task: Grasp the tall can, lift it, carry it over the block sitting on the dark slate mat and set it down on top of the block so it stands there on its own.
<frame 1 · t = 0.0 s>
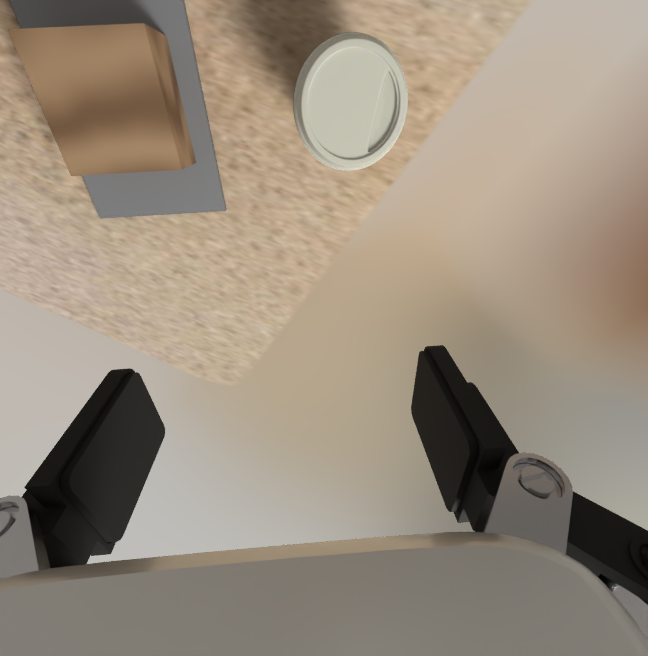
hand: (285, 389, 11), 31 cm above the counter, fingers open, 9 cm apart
block: (130, 107, 31), point 1 cm above the counter, touching mat
mat: (132, 107, 32), on the counter
coffee cup: (337, 109, 33), on the counter
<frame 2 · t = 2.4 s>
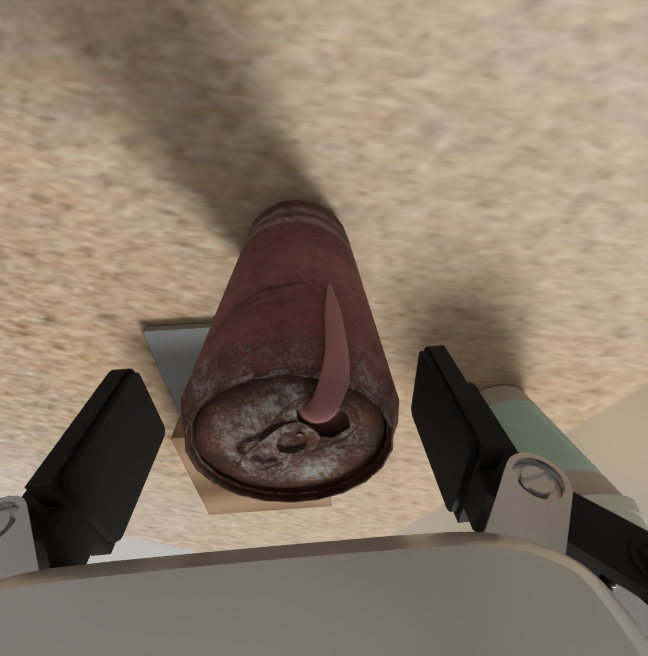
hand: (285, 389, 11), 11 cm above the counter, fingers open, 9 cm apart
block: (267, 421, 28), point 1 cm above the counter, touching mat
can: (299, 246, 20), on the counter
mat: (268, 415, 28), on the counter
coffee cup: (491, 406, 29), on the counter
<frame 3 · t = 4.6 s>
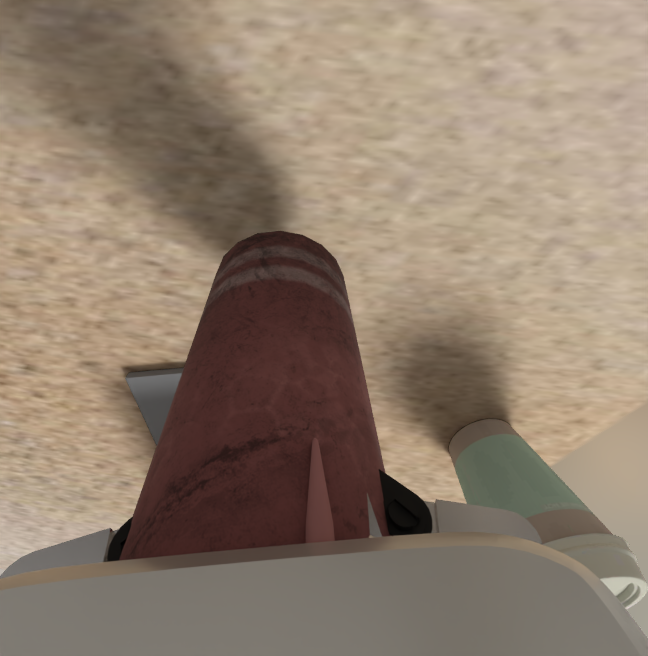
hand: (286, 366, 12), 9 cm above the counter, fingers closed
can: (282, 280, 16), point 3 cm above the counter, touching gripper
mat: (254, 457, 28), on the counter
coffee cup: (479, 439, 29), on the counter
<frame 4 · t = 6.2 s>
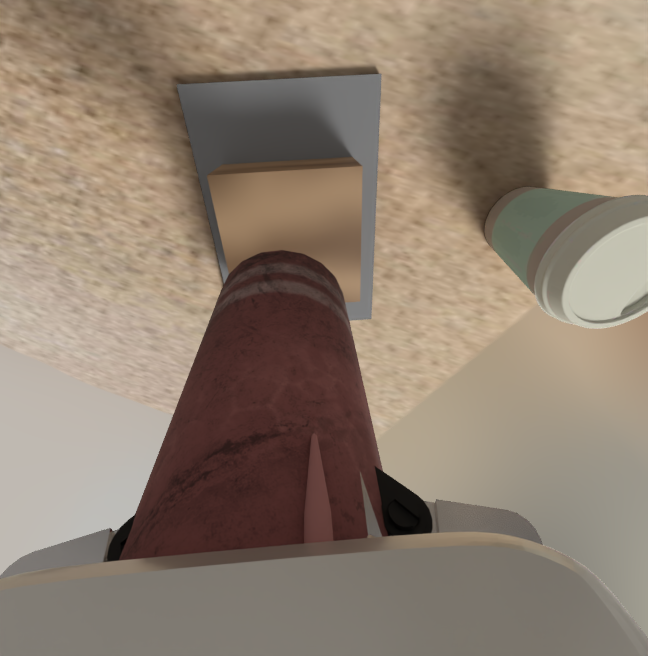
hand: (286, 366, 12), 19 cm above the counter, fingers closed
block: (293, 225, 28), point 1 cm above the counter, touching mat
can: (284, 297, 17), point 14 cm above the counter, touching gripper
mat: (294, 223, 28), on the counter
coffee cup: (515, 220, 30), on the counter
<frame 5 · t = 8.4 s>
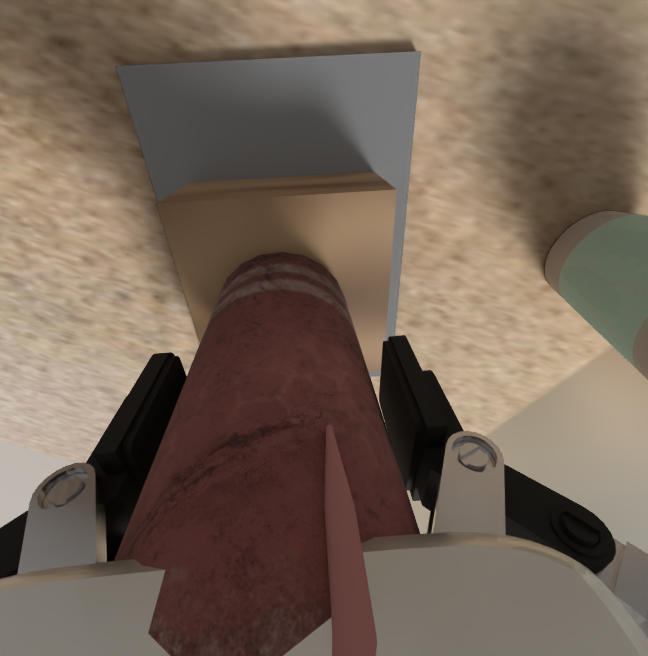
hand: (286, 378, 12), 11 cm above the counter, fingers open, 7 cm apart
block: (291, 263, 21), point 1 cm above the counter, touching can, mat
can: (283, 303, 16), point 6 cm above the counter, touching block
mat: (291, 259, 21), on the counter
coffee cup: (586, 253, 22), on the counter
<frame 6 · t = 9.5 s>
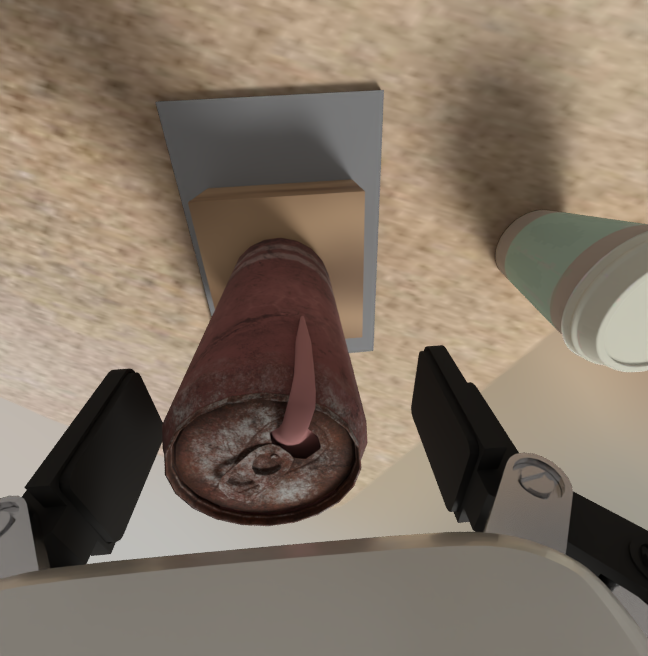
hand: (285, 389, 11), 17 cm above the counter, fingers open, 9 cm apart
block: (288, 253, 25), point 1 cm above the counter, touching can, mat
can: (282, 279, 21), point 5 cm above the counter, touching block
mat: (288, 251, 26), on the counter
coffee cup: (528, 245, 27), on the counter
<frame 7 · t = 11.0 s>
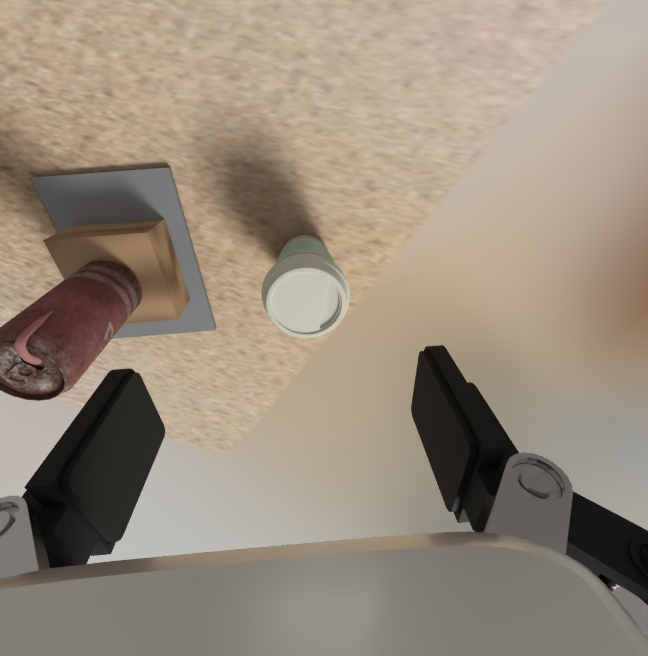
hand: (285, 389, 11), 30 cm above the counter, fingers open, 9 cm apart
block: (136, 264, 39), point 1 cm above the counter, touching can, mat
can: (114, 283, 35), point 5 cm above the counter, touching block
mat: (138, 263, 39), on the counter
coffee cup: (304, 257, 40), on the counter
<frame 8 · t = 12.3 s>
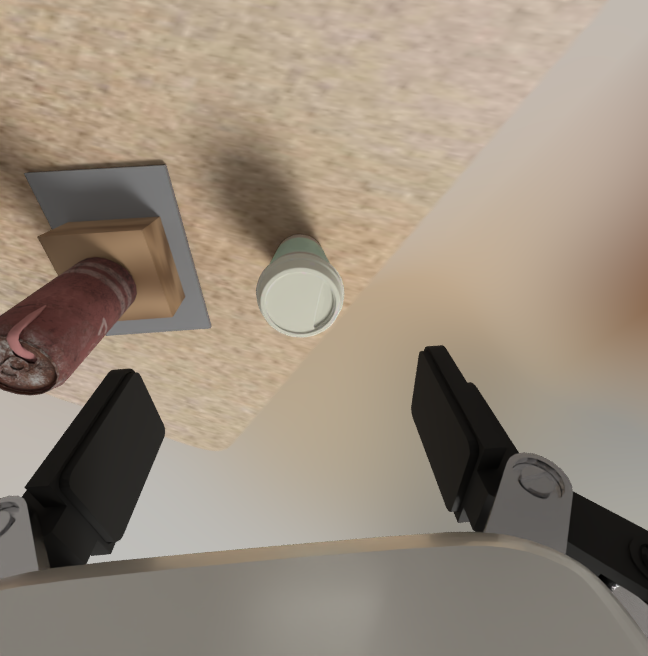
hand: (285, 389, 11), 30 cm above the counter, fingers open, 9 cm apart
block: (130, 262, 39), point 1 cm above the counter, touching can, mat
can: (108, 280, 35), point 5 cm above the counter, touching block
mat: (133, 260, 39), on the counter
coffee cup: (300, 256, 40), on the counter
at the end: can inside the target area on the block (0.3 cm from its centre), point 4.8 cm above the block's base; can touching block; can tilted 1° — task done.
